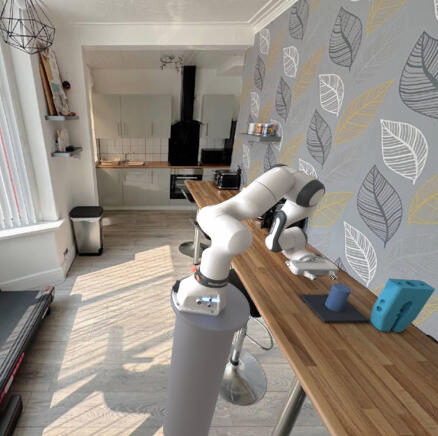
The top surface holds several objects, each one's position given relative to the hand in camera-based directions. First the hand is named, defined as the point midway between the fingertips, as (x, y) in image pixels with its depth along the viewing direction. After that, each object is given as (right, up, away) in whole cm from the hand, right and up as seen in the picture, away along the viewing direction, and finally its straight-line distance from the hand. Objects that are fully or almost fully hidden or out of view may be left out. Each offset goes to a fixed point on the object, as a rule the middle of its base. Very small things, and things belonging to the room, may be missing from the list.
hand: (325, 279), depth 100 cm
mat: (0, -11, -4) cm, 12 cm away
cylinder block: (0, -10, -4) cm, 11 cm away
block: (+14, -15, -11) cm, 24 cm away
